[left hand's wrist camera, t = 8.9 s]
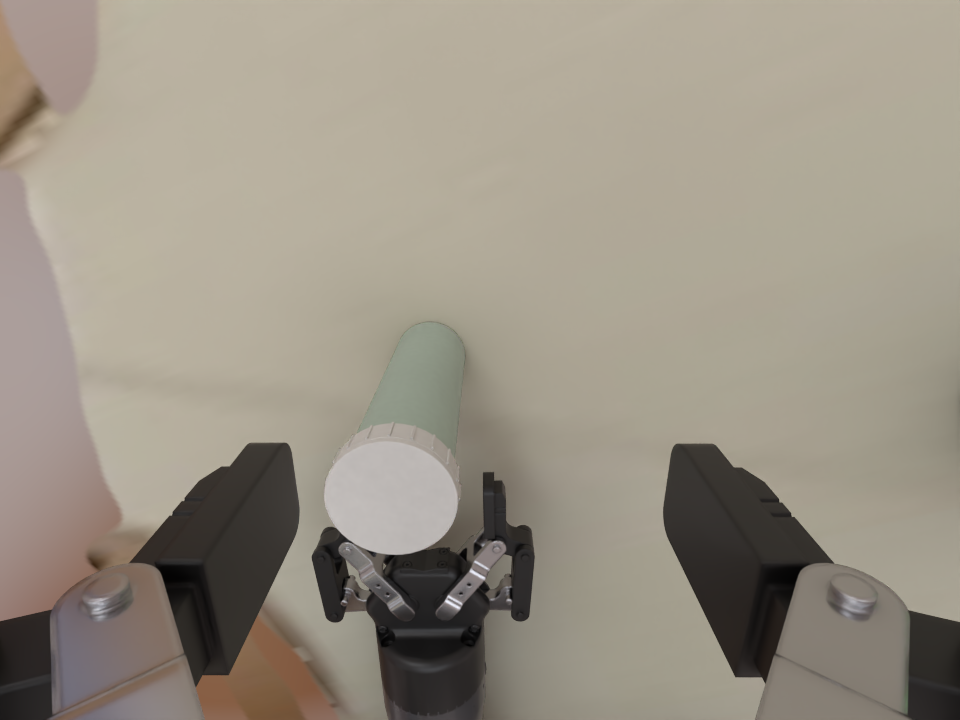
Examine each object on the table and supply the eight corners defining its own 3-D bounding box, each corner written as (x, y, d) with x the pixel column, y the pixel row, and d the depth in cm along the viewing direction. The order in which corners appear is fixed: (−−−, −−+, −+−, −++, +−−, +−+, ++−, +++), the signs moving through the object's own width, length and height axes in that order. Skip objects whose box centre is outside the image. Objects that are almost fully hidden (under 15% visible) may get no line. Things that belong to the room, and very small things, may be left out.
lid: (326, 420, 23) (314, 439, 21) (460, 421, 22) (458, 440, 21) (338, 531, 24) (328, 555, 23) (462, 531, 24) (461, 556, 23)
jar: (395, 321, 37) (329, 443, 22) (464, 321, 37) (449, 443, 22) (398, 385, 39) (340, 541, 23) (465, 385, 39) (451, 542, 23)
